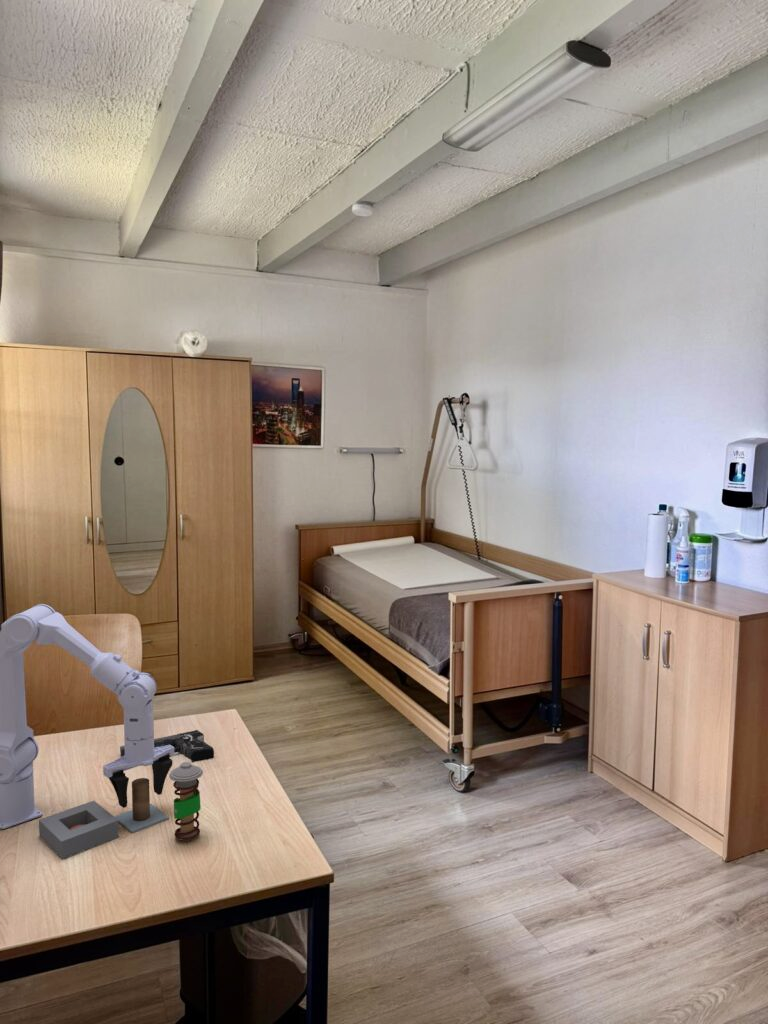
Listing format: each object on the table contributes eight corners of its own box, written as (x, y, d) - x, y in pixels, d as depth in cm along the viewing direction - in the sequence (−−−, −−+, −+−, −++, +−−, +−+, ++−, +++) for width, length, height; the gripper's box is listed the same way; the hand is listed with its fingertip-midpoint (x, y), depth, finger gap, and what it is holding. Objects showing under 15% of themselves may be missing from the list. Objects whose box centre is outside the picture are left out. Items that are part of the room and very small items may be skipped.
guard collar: (39, 836, 144) (38, 819, 144) (94, 816, 152) (93, 800, 152) (62, 859, 136) (61, 841, 136) (118, 837, 144) (118, 820, 144)
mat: (113, 818, 151) (113, 816, 151) (150, 805, 157) (149, 803, 157) (132, 833, 146) (132, 831, 146) (168, 818, 151) (168, 816, 151)
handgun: (130, 764, 170) (118, 741, 182) (130, 778, 171) (119, 754, 183) (215, 746, 180) (199, 726, 192) (215, 760, 180) (199, 738, 192)
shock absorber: (169, 832, 146) (167, 759, 145) (201, 826, 148) (200, 755, 147) (172, 849, 140) (170, 773, 139) (206, 842, 142) (204, 768, 141)
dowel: (130, 816, 151) (129, 781, 151) (145, 811, 154) (144, 776, 153) (136, 822, 149) (135, 787, 148) (152, 817, 151) (152, 782, 150)
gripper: (113, 751, 142) (115, 819, 143) (181, 731, 152) (182, 794, 153) (97, 740, 146) (99, 806, 148) (164, 721, 157) (165, 782, 158)
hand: (140, 799), depth 151 cm, fingers open, 7 cm apart
